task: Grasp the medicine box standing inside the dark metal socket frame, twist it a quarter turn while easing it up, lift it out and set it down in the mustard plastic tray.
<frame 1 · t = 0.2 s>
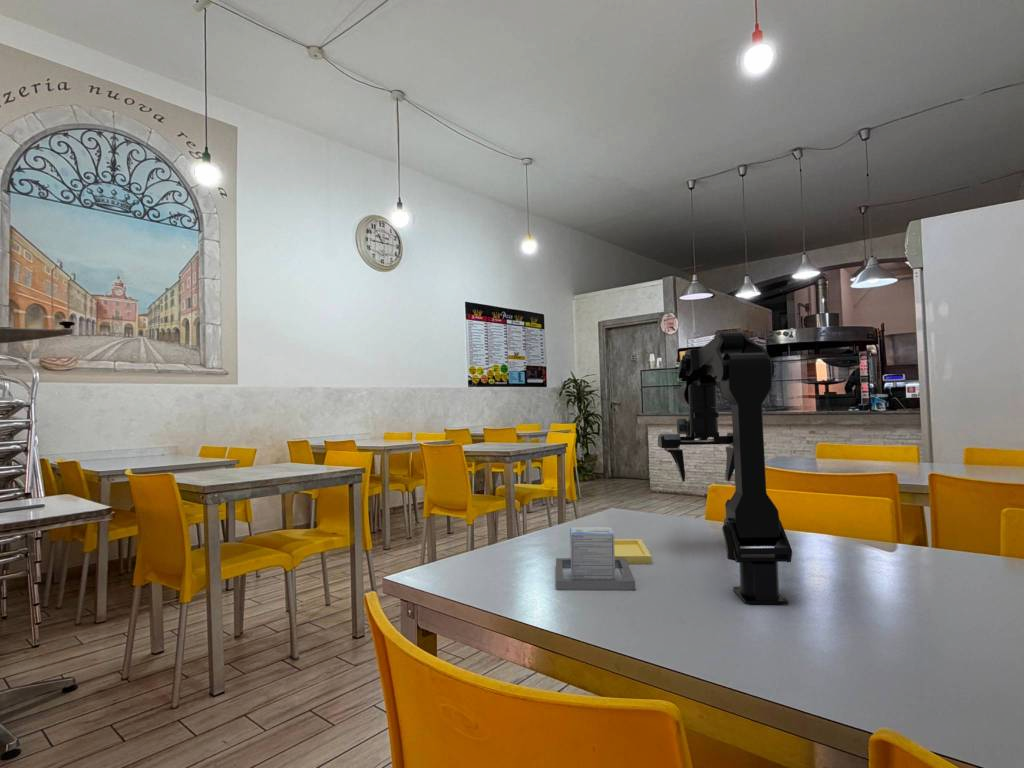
hand: (705, 481, 116), 15 cm above the table, fingers open, 9 cm apart
medicine box: (592, 578, 100), resting in socket frame
socket frame: (592, 577, 100), on the table
tray: (624, 554, 114), on the table
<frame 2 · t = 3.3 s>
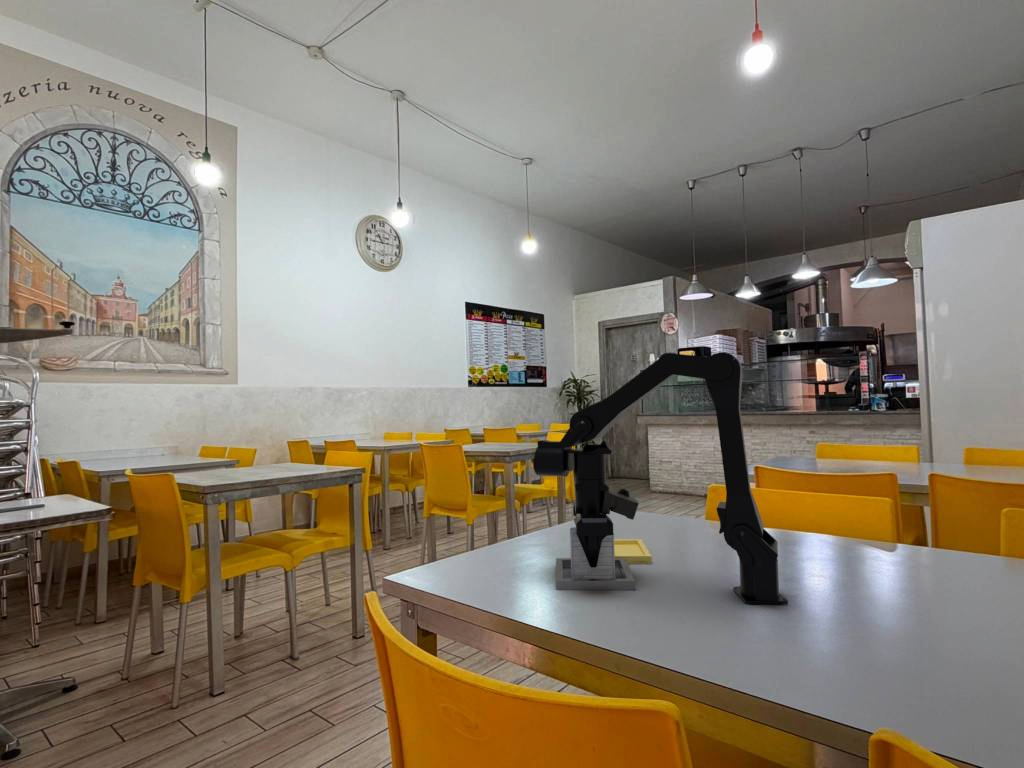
hand: (592, 563, 100), 3 cm above the table, fingers closed on medicine box, 4 cm apart
medicine box: (592, 578, 100), resting in socket frame, touching gripper
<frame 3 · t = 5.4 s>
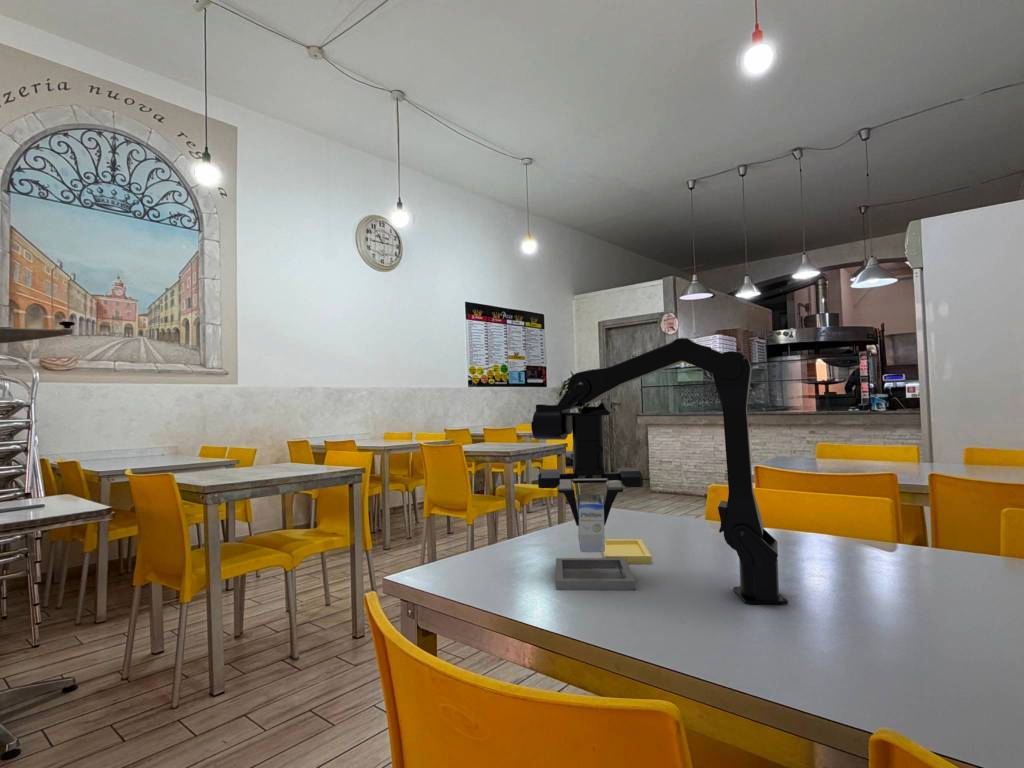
hand: (590, 525, 100), 9 cm above the table, fingers closed on medicine box, 4 cm apart
medicine box: (591, 546, 100), point 5 cm above the table, touching gripper
when the fingers open (5 cm above the table, at t = 8.3 s): medicine box stays where it is, resting on tray.
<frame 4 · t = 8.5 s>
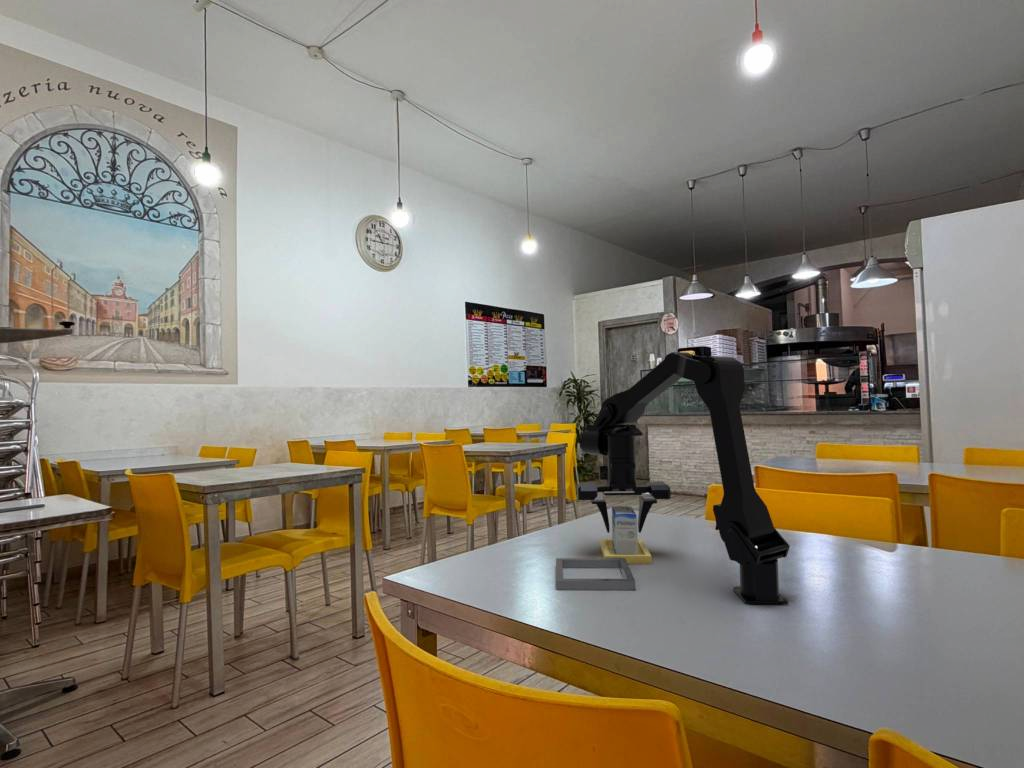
hand: (623, 532, 114), 5 cm above the table, fingers open, 6 cm apart
medicine box: (624, 552, 114), resting on tray
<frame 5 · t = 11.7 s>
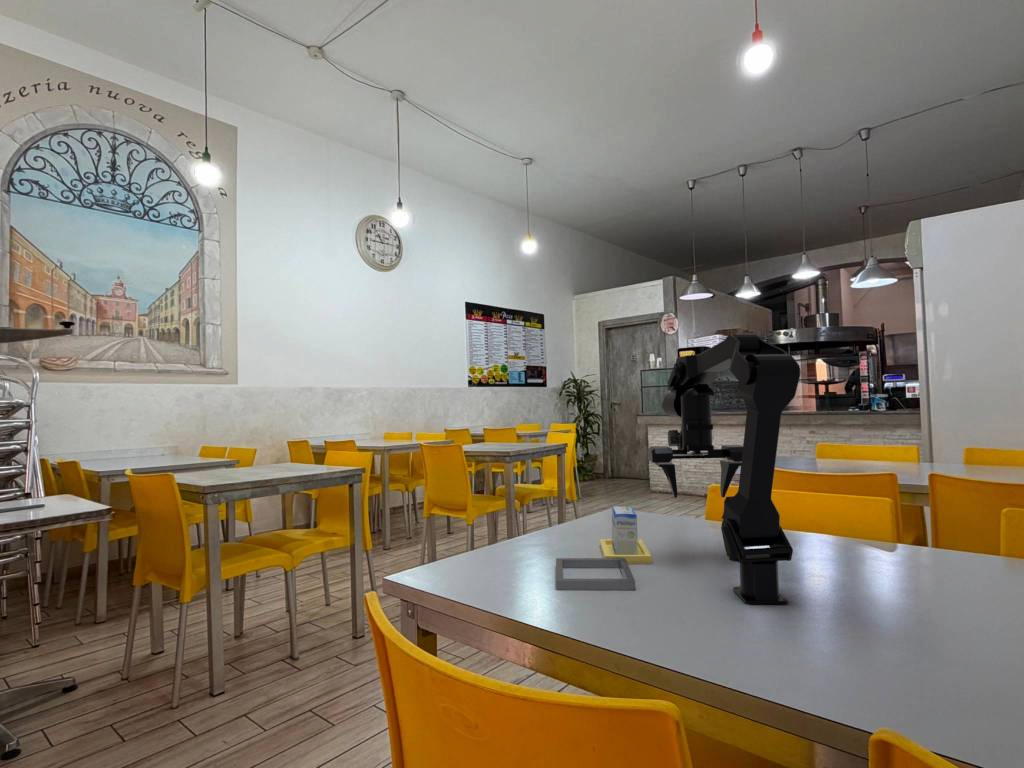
hand: (698, 497, 109), 13 cm above the table, fingers open, 9 cm apart
nothing on the table moved.
at the end: medicine box inside the target area on the tray (0.1 cm from its centre), point 0.4 cm above the tray's base; medicine box tilted 0°; the gripper is holding nothing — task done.
